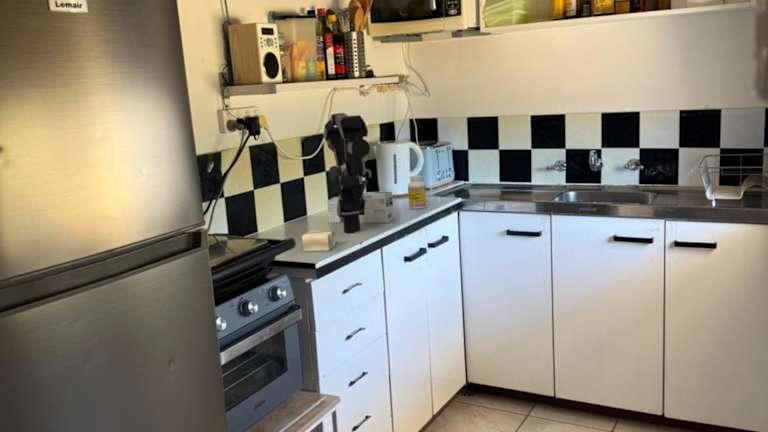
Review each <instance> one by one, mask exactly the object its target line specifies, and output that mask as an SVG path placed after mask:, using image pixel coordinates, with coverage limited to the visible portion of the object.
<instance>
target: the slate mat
mask: <svg viewBox="0 0 768 432" xmlns="http://www.w3.org/2000/svg"><path fill="white" fill-rule="evenodd" d="M335 242H336V246H335V247H334V248H332V249H331V250H330V251H328V252H304V251H303V246H301V247H300V248H298V249H297V250H296V251H294V252H293V253H292V255H310V254H311V255H313V254H316V255H317V254H337V253H339V252H340V251H341V250H342V249H343V248H344V247H345V246H346V245H347V244H348V243H349V242H350V240H342V241H341V240H339V241H336V240H335Z"/></svg>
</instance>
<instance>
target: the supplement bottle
mask: <svg viewBox="0 0 768 432" xmlns="http://www.w3.org/2000/svg"><path fill="white" fill-rule="evenodd" d="M422 179H423V178H422V175H421V174H420V175H418V174H417V175H410V176H409V180H410V181H409V183H408V184H407V190H408V191H407V192H408V206H409V207H408V208H409V209H410V210H422V208H423V209H425V208H426V207H427V202H426V187H425V183H424V181H422Z"/></svg>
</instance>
